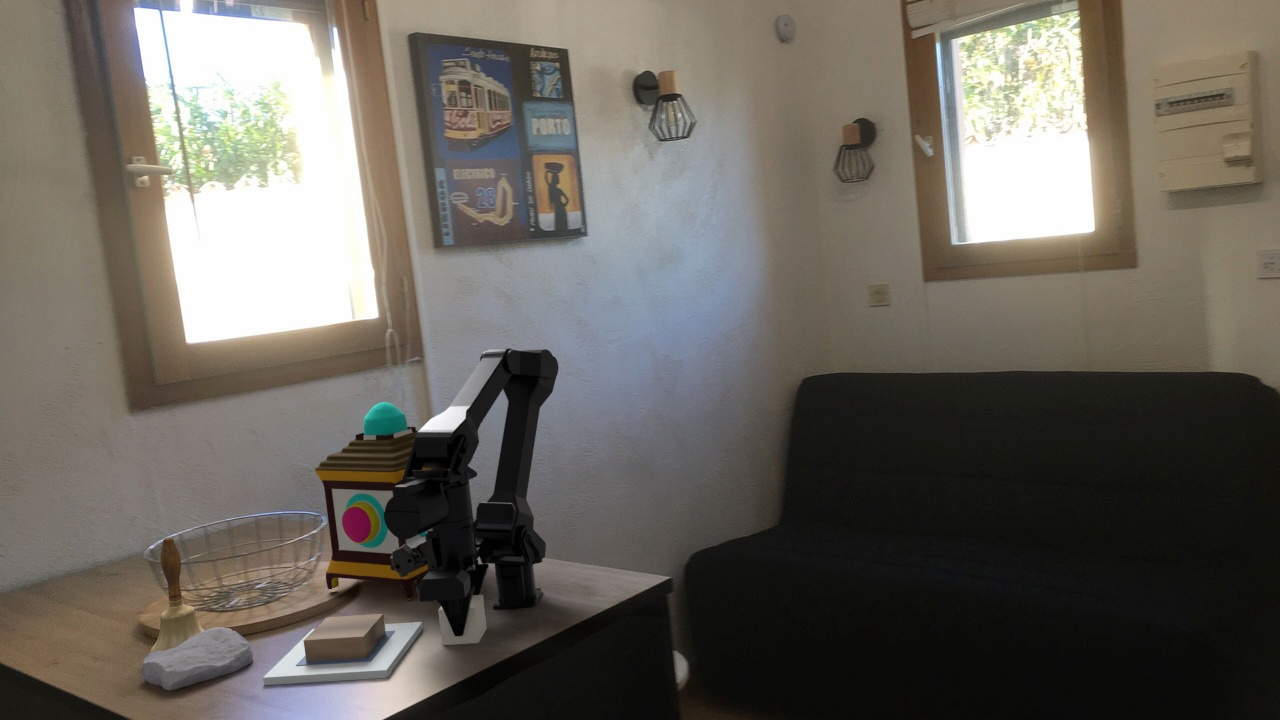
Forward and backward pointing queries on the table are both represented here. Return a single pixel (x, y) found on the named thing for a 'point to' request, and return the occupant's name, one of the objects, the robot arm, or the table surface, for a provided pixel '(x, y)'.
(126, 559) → the table surface
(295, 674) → the board
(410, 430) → the decorative lantern
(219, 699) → the table surface
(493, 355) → the robot arm
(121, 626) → the table surface
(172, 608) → the hand bell
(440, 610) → the plastic cube
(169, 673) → the stone block
